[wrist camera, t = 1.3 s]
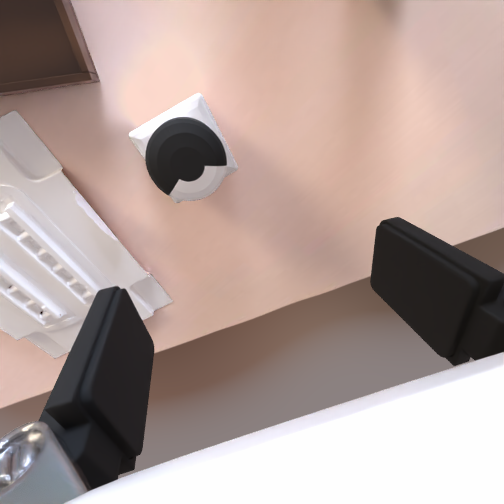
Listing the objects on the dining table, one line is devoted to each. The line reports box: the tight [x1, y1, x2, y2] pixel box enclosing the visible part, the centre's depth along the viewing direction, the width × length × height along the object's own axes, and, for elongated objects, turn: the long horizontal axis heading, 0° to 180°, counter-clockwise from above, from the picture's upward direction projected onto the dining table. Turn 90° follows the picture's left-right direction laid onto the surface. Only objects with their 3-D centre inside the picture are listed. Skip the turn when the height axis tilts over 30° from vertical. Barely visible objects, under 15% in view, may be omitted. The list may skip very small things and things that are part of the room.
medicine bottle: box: [129, 93, 238, 203], centre depth 25 cm, size 7×7×12 cm
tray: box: [0, 110, 173, 359], centre depth 31 cm, size 20×28×4 cm
